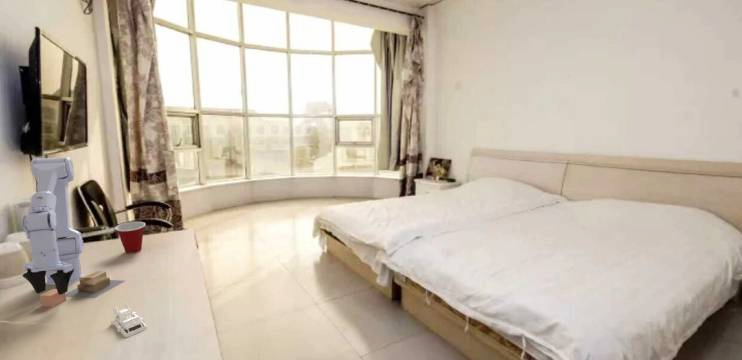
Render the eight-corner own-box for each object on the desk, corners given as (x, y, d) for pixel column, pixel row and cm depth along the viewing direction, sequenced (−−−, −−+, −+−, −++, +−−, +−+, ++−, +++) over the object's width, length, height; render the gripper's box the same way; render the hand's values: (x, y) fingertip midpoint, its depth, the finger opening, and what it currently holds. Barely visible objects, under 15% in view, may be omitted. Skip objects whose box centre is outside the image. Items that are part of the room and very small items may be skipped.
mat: (61, 296, 109) (61, 296, 109) (94, 279, 121) (94, 279, 121) (94, 298, 108) (94, 297, 108) (125, 281, 120) (125, 280, 120)
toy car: (123, 339, 88) (121, 324, 87) (108, 323, 95) (106, 309, 95) (150, 328, 93) (148, 314, 92) (134, 313, 100) (132, 300, 99)
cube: (41, 307, 104) (39, 295, 103) (55, 300, 107) (52, 288, 107) (53, 307, 103) (51, 295, 102) (66, 301, 107) (64, 289, 106)
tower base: (78, 291, 112) (77, 284, 112) (94, 283, 118) (93, 276, 117) (94, 292, 111) (93, 285, 111) (110, 284, 117) (109, 277, 117)
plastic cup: (121, 258, 141) (117, 230, 139) (115, 251, 148) (112, 225, 146) (151, 250, 149) (148, 224, 147) (144, 244, 156) (141, 219, 154)
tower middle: (80, 284, 112) (78, 277, 112) (93, 277, 117) (92, 270, 116) (93, 285, 112) (92, 277, 111) (106, 278, 116) (105, 271, 116)
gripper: (8, 255, 99) (16, 297, 101) (52, 256, 98) (60, 300, 100) (34, 246, 106) (41, 286, 108) (76, 247, 105) (82, 288, 107)
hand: (52, 292), depth 105 cm, fingers open, 7 cm apart
